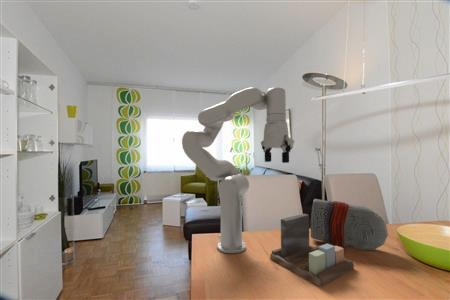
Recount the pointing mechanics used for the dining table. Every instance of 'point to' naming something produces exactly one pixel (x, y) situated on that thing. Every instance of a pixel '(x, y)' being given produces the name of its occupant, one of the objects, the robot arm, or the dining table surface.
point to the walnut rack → (304, 269)
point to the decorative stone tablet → (347, 225)
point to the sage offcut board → (317, 262)
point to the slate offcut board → (328, 254)
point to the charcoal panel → (294, 235)
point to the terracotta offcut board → (339, 255)
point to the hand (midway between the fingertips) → (276, 162)
